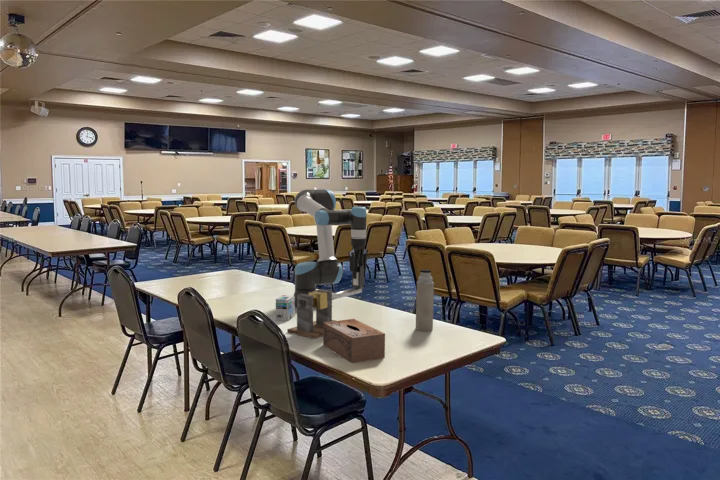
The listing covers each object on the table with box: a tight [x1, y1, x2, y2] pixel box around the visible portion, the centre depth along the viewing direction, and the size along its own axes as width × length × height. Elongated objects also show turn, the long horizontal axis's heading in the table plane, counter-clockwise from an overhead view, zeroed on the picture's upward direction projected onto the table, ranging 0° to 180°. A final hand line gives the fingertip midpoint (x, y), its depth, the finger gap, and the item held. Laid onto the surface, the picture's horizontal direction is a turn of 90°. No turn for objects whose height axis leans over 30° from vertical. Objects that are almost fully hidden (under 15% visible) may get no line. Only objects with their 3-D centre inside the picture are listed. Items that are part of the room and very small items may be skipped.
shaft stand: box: [287, 288, 336, 339], centre depth 256 cm, size 26×16×18 cm, turn 143°
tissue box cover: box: [322, 318, 386, 364], centre depth 224 cm, size 26×14×10 cm, turn 29°
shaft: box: [332, 265, 365, 301], centre depth 267 cm, size 30×5×14 cm, turn 143°
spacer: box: [309, 291, 328, 310], centre depth 254 cm, size 5×7×7 cm
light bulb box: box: [275, 294, 296, 322], centre depth 276 cm, size 11×7×11 cm, turn 168°
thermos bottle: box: [415, 269, 435, 332], centre depth 258 cm, size 8×8×28 cm
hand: (357, 284), depth 278 cm, fingers closed on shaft, 3 cm apart
